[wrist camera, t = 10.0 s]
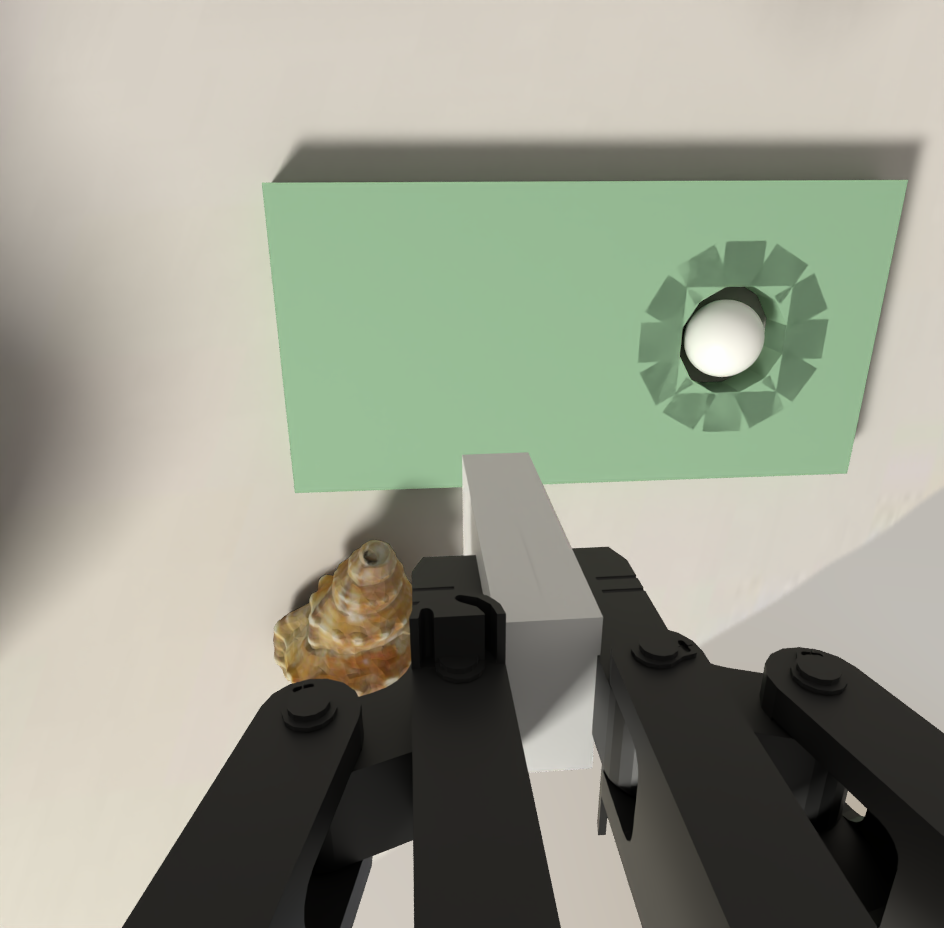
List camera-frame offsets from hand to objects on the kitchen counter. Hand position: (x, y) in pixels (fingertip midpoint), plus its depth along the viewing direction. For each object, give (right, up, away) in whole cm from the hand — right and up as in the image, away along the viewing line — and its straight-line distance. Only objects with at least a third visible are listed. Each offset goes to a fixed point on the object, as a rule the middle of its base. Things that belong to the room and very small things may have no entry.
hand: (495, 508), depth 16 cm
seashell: (-7, -7, +23) cm, 25 cm away
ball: (+11, +7, +17) cm, 22 cm away
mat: (+5, +7, +18) cm, 20 cm away
